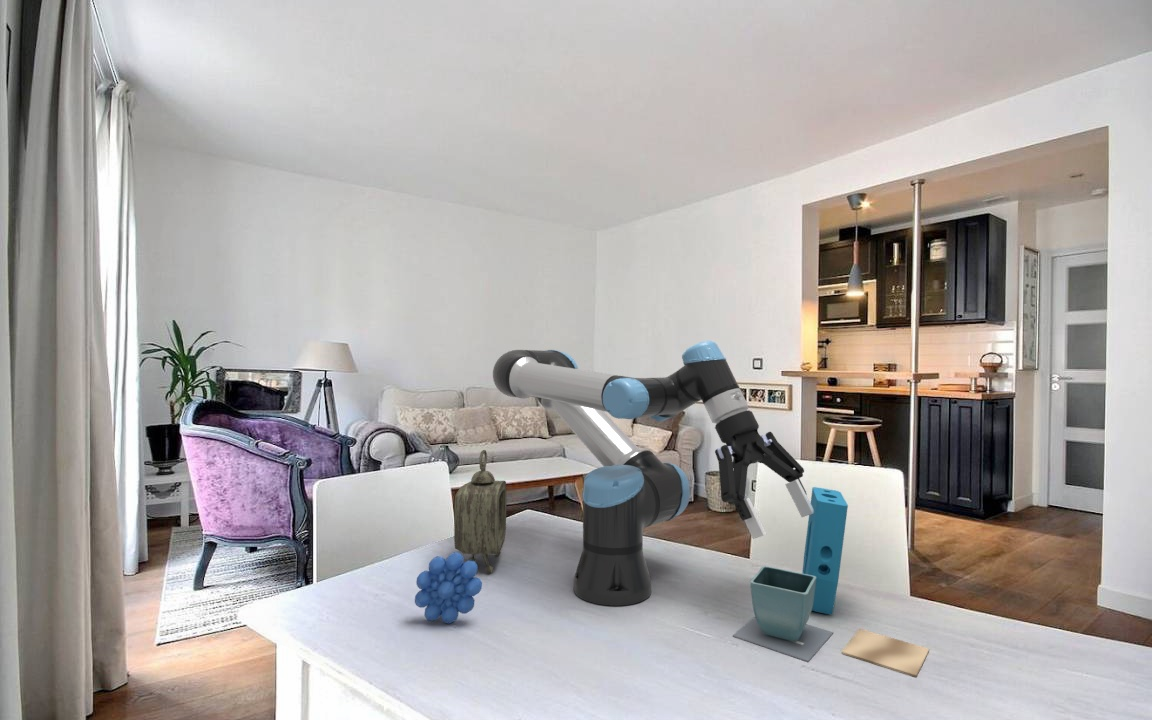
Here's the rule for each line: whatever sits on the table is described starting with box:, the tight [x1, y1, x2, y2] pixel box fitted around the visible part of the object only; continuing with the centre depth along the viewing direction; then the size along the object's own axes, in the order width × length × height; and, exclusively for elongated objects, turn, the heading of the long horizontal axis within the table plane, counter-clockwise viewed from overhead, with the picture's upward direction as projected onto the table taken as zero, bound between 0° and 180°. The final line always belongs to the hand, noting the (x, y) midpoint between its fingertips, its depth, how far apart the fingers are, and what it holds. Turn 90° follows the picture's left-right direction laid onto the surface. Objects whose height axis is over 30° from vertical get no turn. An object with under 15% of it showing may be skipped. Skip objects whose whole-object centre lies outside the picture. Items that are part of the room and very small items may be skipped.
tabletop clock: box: [453, 449, 507, 574], centre depth 125 cm, size 14×9×25 cm, turn 179°
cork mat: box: [841, 628, 930, 678], centre depth 88 cm, size 10×10×1 cm
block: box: [801, 486, 849, 615], centre depth 105 cm, size 12×5×20 cm, turn 162°
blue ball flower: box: [414, 552, 483, 624], centre depth 98 cm, size 12×7×12 cm, turn 85°
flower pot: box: [749, 565, 816, 642], centre depth 93 cm, size 9×9×9 cm
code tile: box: [732, 616, 834, 663], centre depth 93 cm, size 12×12×1 cm
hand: (785, 525), depth 101 cm, fingers open, 13 cm apart
